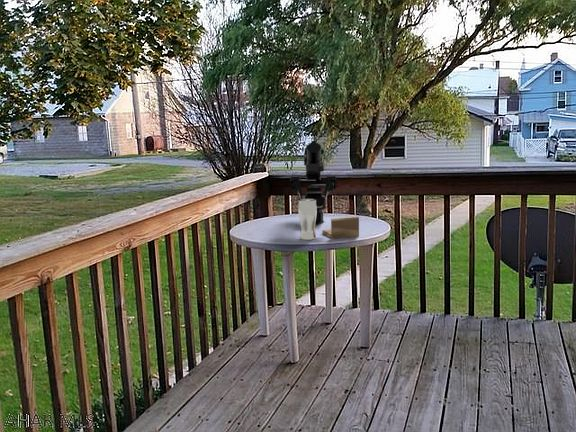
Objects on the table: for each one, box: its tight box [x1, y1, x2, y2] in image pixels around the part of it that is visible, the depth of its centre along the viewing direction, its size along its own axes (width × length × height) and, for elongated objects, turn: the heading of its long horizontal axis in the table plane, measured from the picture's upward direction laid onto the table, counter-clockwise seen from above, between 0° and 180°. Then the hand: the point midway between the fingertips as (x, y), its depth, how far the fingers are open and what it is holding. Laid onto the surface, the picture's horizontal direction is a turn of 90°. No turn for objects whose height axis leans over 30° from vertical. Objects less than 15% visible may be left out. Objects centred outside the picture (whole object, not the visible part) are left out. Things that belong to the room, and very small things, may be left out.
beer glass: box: [297, 198, 318, 241], centre depth 214 cm, size 7×7×15 cm
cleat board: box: [322, 215, 360, 240], centre depth 219 cm, size 10×11×8 cm
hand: (313, 199), depth 222 cm, fingers open, 9 cm apart
